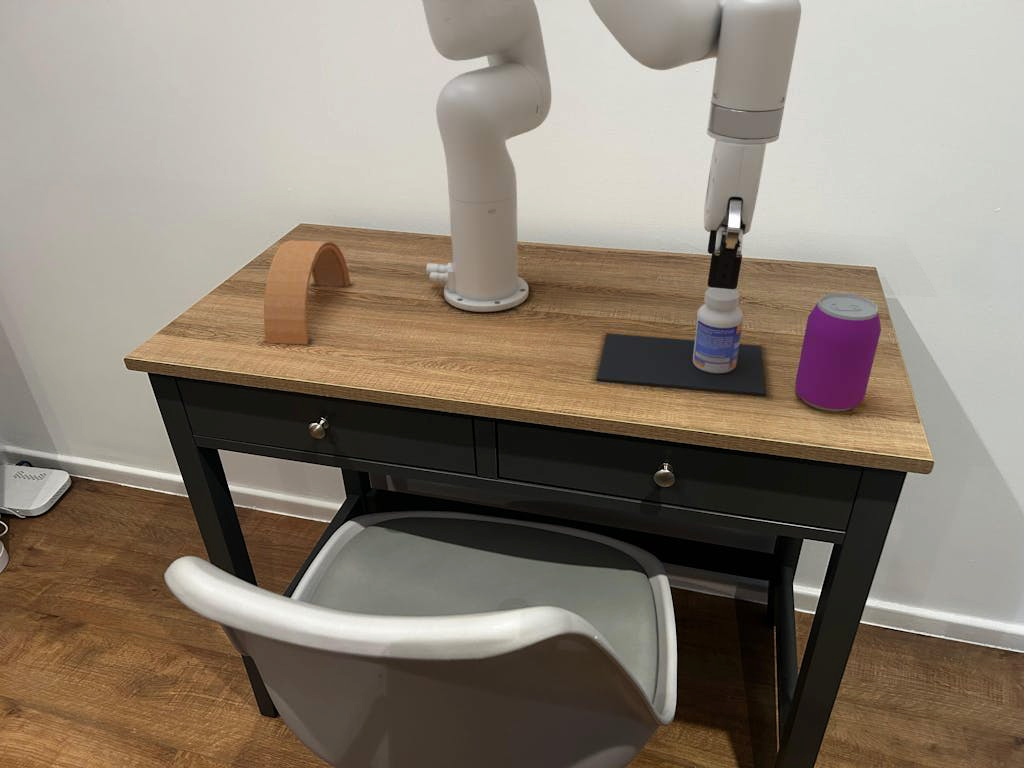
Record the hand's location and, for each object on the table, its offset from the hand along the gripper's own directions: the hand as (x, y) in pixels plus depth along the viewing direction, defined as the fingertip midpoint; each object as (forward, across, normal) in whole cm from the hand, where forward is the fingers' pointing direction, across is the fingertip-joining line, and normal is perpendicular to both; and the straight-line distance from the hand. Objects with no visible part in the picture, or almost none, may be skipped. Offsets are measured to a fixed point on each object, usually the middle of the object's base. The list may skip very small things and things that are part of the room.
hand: (721, 269), depth 94 cm
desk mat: (+13, 0, -3) cm, 13 cm away
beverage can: (+13, +5, +14) cm, 20 cm away
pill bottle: (+13, 0, +1) cm, 13 cm away
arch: (+15, -6, -56) cm, 58 cm away
